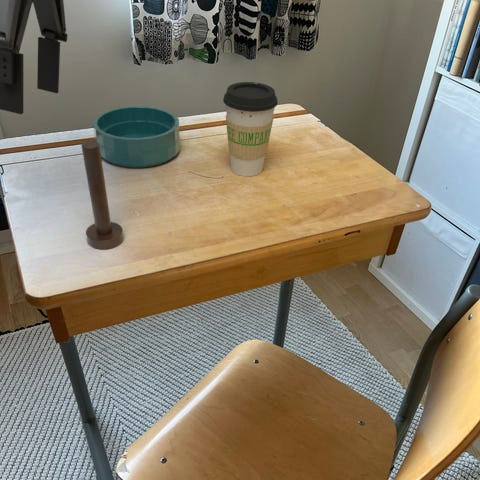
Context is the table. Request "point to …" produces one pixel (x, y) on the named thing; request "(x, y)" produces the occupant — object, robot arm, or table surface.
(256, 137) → the coffee cup
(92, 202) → the brown pestle
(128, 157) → the bowl
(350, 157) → the table surface
